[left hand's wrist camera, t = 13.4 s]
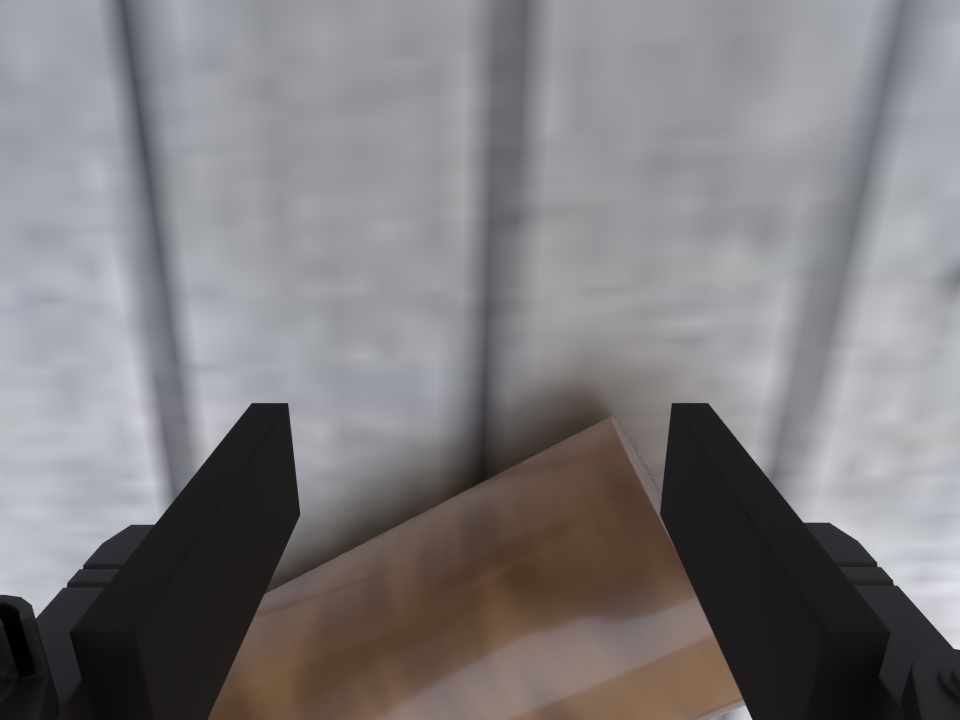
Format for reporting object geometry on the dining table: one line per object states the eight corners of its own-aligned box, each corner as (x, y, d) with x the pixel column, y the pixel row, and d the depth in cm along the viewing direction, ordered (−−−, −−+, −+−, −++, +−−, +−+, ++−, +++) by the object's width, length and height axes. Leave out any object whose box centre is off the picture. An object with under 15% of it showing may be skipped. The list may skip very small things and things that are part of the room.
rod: (589, 383, 18) (769, 728, 14) (634, 443, 26) (758, 676, 22) (-40, 715, 22) (-29, 1046, 18) (163, 680, 30) (199, 908, 26)
